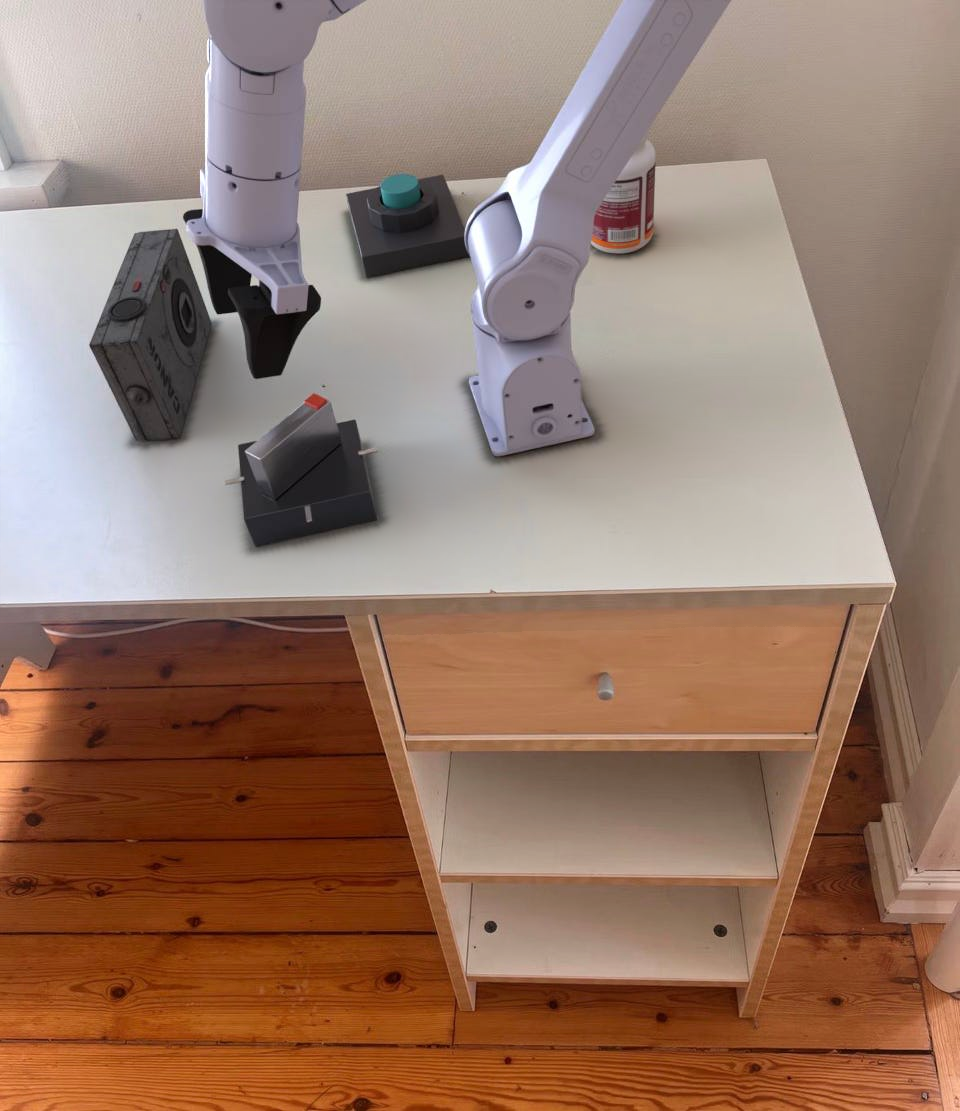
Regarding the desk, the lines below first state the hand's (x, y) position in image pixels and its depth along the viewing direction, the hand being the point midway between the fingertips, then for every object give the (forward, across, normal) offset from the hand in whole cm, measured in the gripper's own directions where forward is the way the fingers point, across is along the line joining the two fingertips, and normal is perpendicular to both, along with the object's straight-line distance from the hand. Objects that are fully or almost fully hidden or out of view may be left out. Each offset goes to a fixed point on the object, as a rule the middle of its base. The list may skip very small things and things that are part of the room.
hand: (247, 341), depth 69 cm
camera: (+12, -11, -2) cm, 17 cm away
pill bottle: (0, -8, +39) cm, 40 cm away
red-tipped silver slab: (+6, +7, +2) cm, 10 cm away
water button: (+2, -21, +23) cm, 31 cm away
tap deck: (+9, +8, +2) cm, 12 cm away
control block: (+6, -21, +24) cm, 32 cm away
